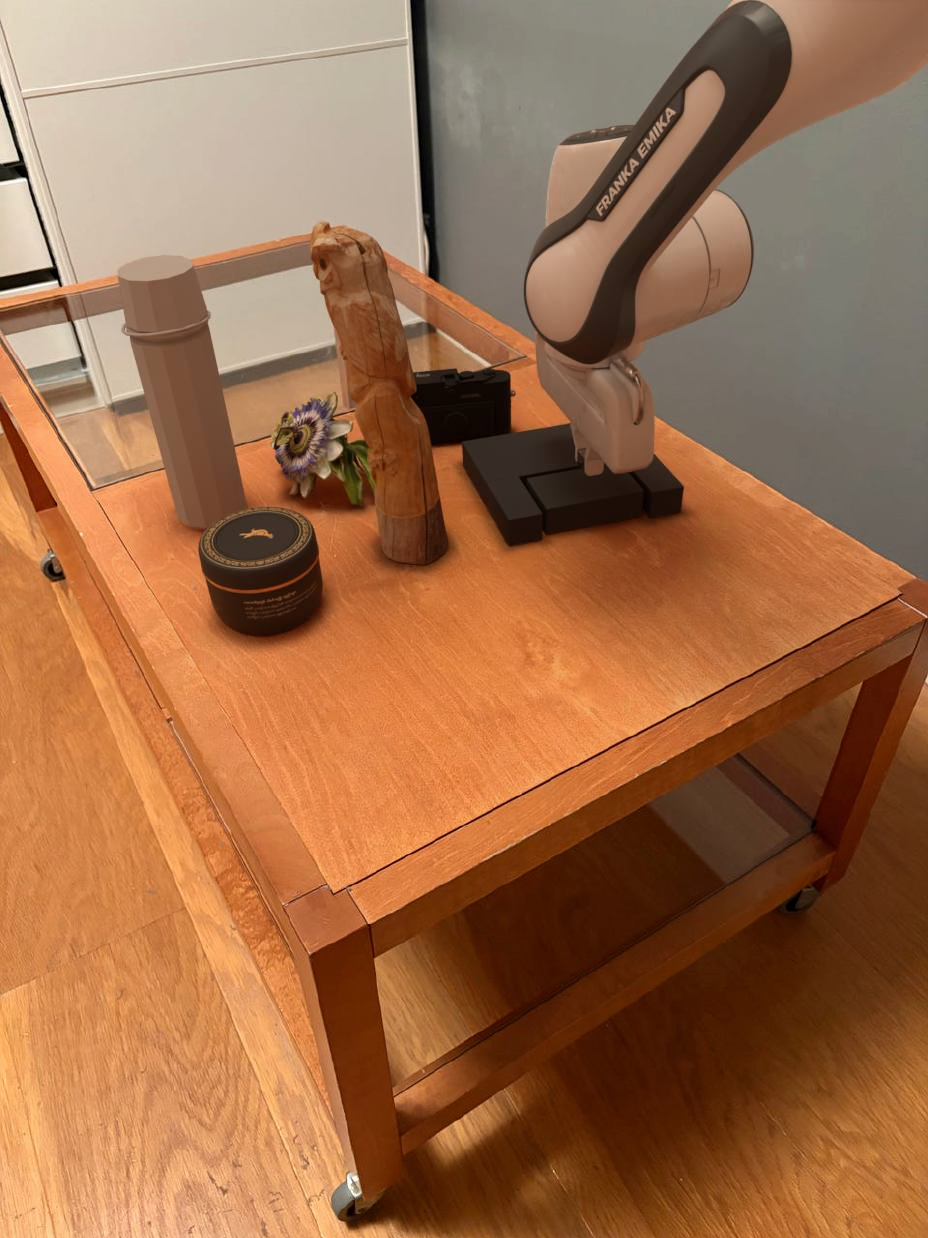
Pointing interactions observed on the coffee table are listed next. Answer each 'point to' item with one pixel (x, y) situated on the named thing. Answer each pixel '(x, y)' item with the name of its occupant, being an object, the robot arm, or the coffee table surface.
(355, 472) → the passion flower
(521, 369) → the coffee table surface
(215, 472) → the water bottle
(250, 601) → the jar
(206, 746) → the coffee table surface
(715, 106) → the robot arm
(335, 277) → the sculpture
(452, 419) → the camera
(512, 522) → the base pad
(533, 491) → the black pad
